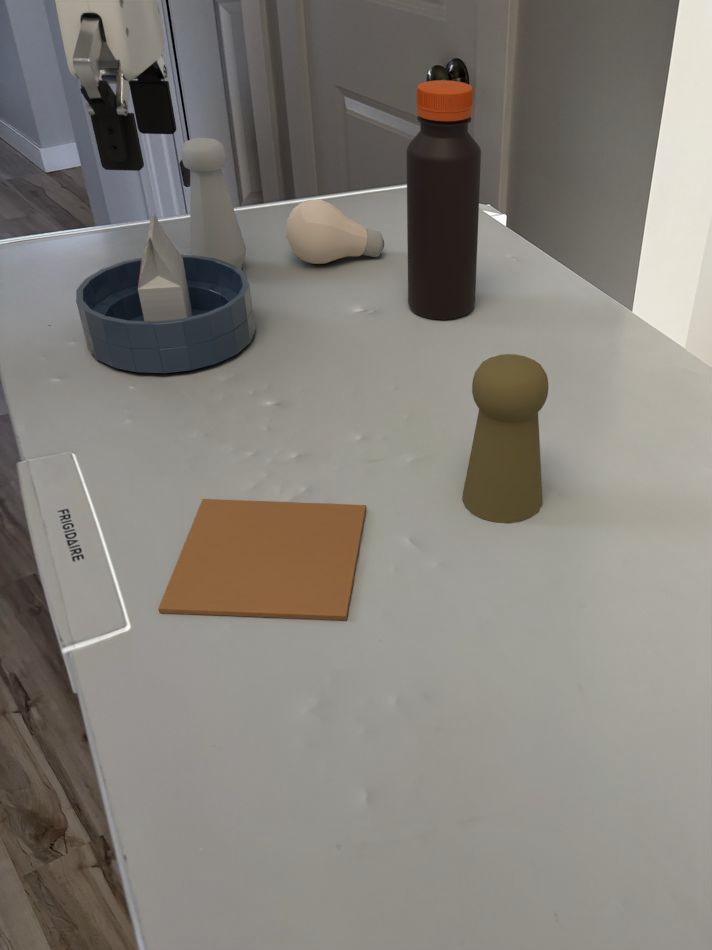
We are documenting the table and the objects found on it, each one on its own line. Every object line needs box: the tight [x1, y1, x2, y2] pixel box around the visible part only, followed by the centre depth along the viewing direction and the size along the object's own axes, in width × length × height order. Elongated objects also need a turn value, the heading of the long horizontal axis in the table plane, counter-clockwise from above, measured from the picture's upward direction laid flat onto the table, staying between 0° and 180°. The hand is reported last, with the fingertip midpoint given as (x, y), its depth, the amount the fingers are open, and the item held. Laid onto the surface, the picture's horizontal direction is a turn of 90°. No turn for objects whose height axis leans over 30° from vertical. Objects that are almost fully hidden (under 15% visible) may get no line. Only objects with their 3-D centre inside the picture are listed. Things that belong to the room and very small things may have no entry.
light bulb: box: [285, 199, 385, 265], centre depth 101 cm, size 7×7×11 cm
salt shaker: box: [181, 137, 247, 271], centre depth 95 cm, size 6×6×13 cm
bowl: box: [75, 254, 256, 374], centre depth 86 cm, size 15×15×5 cm
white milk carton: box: [138, 213, 193, 322], centre depth 84 cm, size 4×7×10 cm, turn 11°
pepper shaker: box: [461, 353, 549, 524], centre depth 66 cm, size 6×6×11 cm
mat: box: [158, 498, 367, 621], centre depth 63 cm, size 12×12×1 cm
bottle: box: [406, 79, 482, 321], centre depth 87 cm, size 7×7×20 cm
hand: (141, 150), depth 76 cm, fingers open, 9 cm apart
